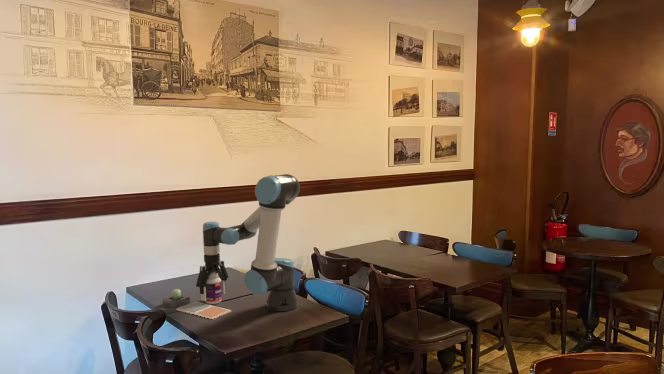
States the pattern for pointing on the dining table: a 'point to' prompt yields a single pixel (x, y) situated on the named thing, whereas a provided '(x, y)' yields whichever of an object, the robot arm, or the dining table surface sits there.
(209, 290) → the pill bottle
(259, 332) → the dining table surface
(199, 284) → the robot arm
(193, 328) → the dining table surface
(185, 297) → the button housing
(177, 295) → the button
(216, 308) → the board
